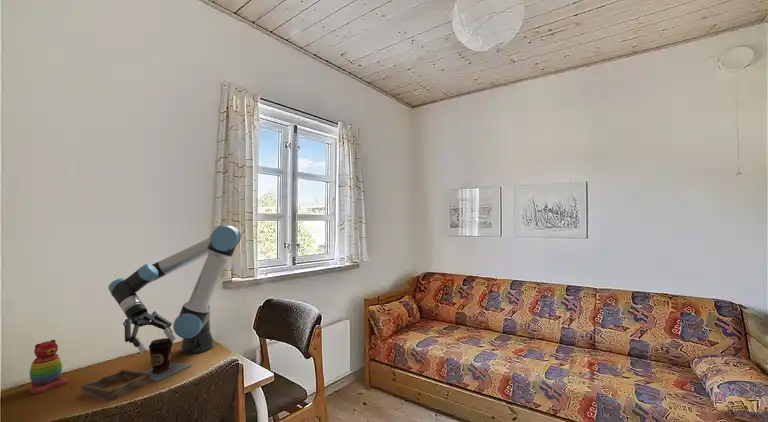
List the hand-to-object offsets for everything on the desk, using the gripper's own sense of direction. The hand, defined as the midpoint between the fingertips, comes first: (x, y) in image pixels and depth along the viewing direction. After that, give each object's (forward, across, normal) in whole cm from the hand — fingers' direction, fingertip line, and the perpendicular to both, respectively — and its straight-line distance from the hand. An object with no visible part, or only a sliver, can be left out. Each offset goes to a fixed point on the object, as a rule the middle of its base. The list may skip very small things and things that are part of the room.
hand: (159, 345), depth 155 cm
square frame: (+7, +17, -9) cm, 20 cm away
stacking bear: (-14, +23, -30) cm, 41 cm away
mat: (+9, 0, -7) cm, 11 cm away
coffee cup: (+8, 0, -7) cm, 11 cm away
